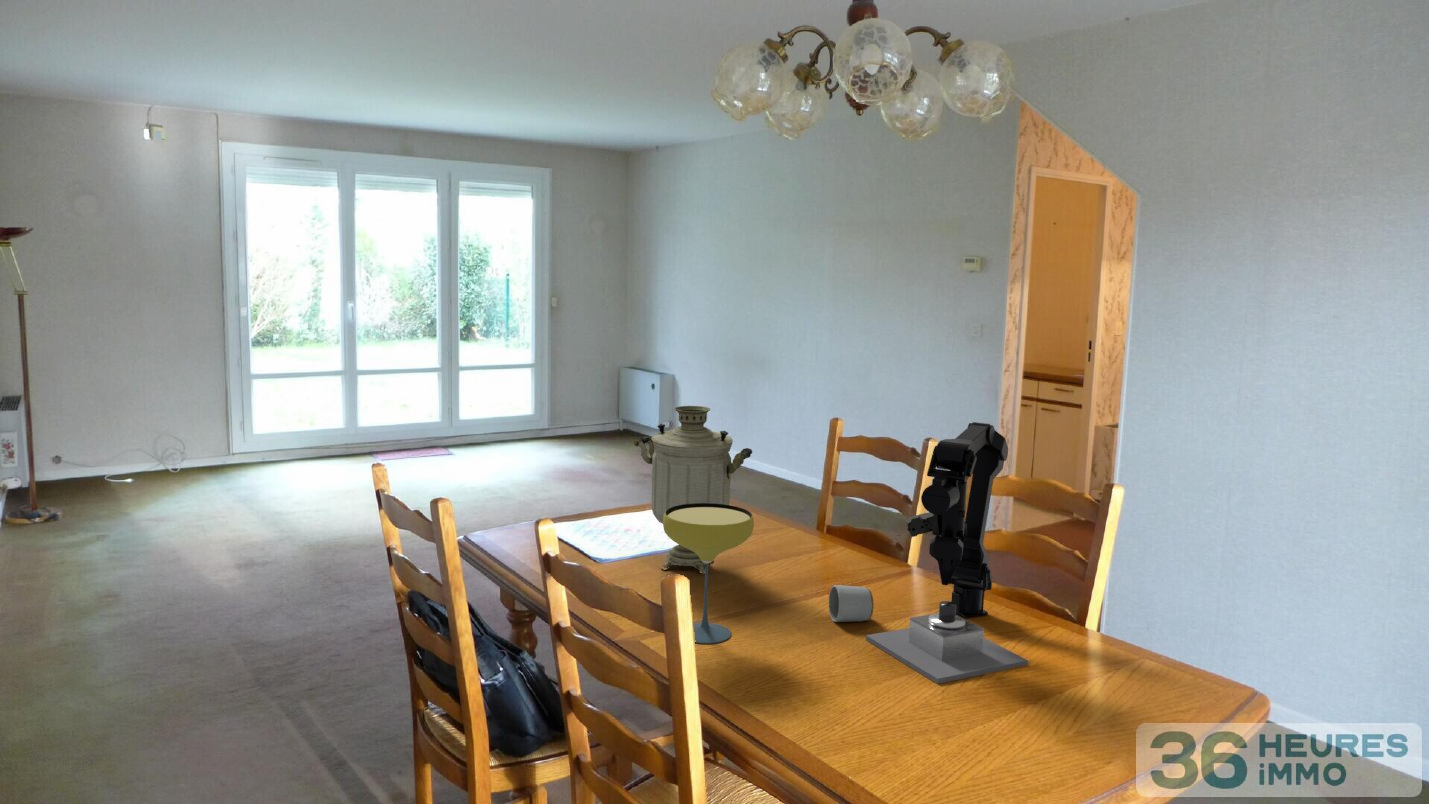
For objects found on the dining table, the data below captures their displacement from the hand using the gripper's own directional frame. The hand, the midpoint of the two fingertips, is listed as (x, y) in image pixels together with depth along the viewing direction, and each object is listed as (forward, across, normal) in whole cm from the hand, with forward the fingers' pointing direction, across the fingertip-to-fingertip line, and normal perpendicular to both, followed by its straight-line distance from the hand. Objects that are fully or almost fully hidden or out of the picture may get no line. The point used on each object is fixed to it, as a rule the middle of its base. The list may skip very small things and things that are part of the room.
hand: (946, 577), depth 188 cm
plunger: (+11, +8, +1) cm, 14 cm away
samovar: (+13, -26, -63) cm, 69 cm away
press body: (+12, +8, +1) cm, 15 cm away
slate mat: (+12, +8, +1) cm, 15 cm away
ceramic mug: (+13, -3, -20) cm, 24 cm away
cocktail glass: (+12, +18, -46) cm, 51 cm away
